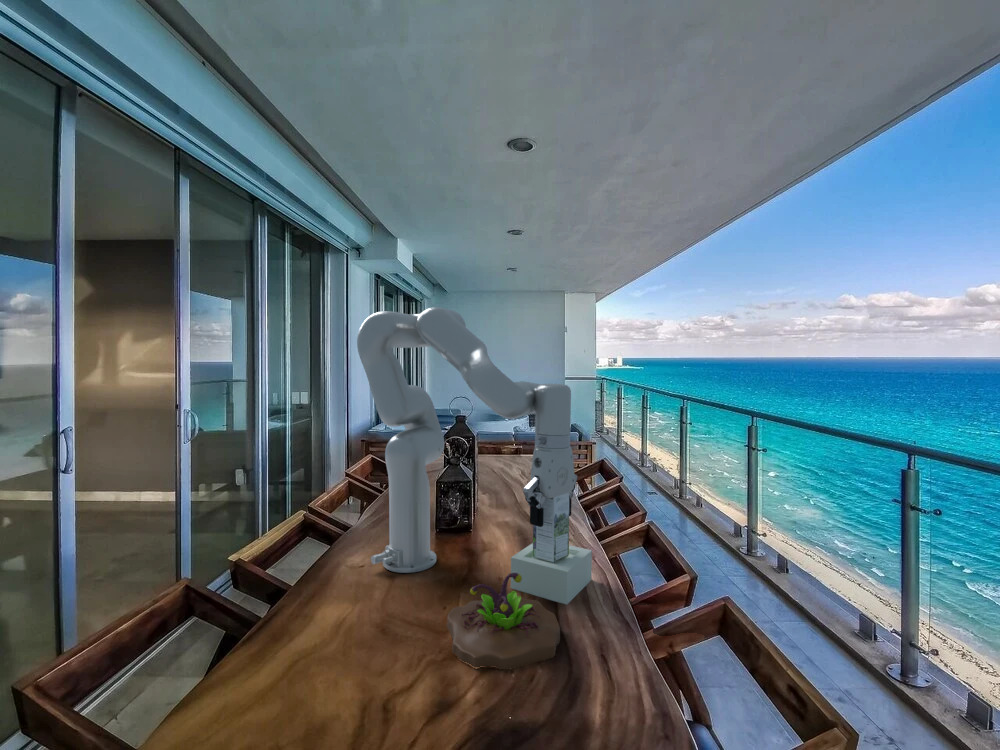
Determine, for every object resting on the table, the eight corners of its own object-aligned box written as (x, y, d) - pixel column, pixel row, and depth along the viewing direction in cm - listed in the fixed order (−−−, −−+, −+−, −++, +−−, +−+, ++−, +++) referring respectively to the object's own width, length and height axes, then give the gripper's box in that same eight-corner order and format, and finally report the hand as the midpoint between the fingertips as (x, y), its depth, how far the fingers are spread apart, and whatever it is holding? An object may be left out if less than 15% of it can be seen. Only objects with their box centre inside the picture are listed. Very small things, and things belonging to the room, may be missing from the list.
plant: (576, 663, 81) (577, 595, 81) (456, 678, 77) (456, 607, 77) (541, 603, 101) (541, 548, 100) (444, 613, 97) (444, 556, 96)
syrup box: (548, 551, 112) (547, 486, 113) (570, 556, 109) (569, 489, 109) (532, 557, 108) (532, 489, 109) (554, 563, 104) (554, 493, 105)
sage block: (566, 606, 100) (567, 571, 99) (510, 589, 107) (511, 557, 106) (591, 581, 111) (591, 550, 110) (539, 567, 118) (539, 538, 117)
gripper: (540, 449, 99) (538, 534, 99) (590, 439, 111) (588, 515, 112) (512, 443, 104) (511, 525, 105) (562, 434, 116) (561, 507, 117)
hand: (550, 519), depth 108 cm, fingers open, 9 cm apart
